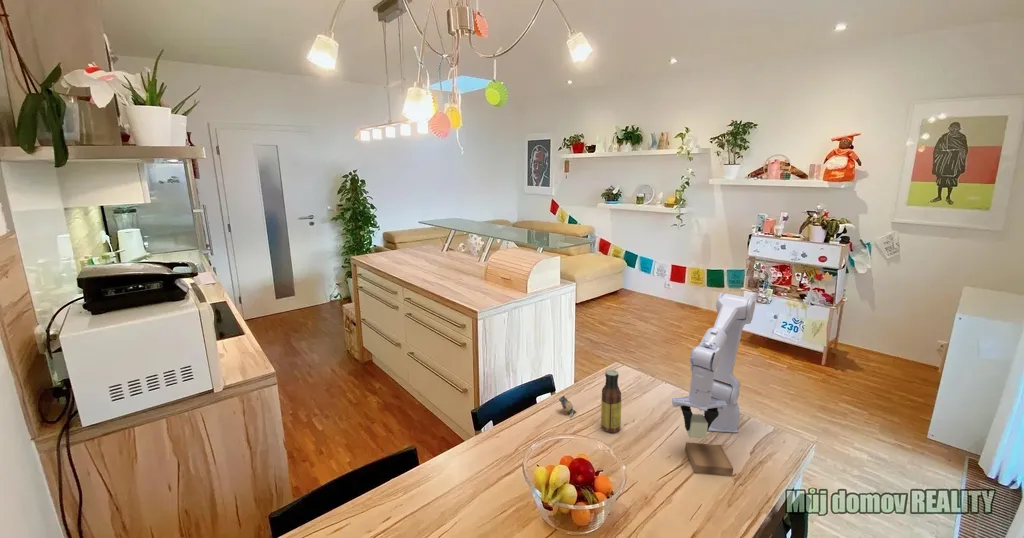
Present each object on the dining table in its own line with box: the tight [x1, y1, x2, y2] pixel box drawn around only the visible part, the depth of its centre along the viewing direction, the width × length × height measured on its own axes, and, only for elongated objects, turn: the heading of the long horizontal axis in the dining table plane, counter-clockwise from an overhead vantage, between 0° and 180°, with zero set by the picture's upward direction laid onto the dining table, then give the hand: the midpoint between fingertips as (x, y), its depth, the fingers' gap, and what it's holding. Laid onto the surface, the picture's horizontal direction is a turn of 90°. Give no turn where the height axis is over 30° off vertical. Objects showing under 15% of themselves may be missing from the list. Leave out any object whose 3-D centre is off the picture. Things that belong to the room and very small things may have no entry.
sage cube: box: [684, 413, 708, 440], centre depth 125 cm, size 4×4×5 cm
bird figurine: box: [558, 395, 577, 420], centre depth 147 cm, size 5×5×6 cm
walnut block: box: [684, 441, 734, 477], centre depth 124 cm, size 10×10×3 cm
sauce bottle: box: [600, 369, 622, 434], centre depth 137 cm, size 6×6×20 cm
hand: (696, 429), depth 125 cm, fingers closed on sage cube, 4 cm apart
